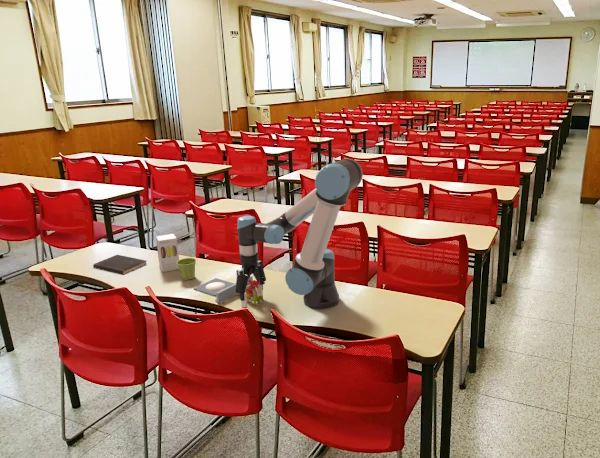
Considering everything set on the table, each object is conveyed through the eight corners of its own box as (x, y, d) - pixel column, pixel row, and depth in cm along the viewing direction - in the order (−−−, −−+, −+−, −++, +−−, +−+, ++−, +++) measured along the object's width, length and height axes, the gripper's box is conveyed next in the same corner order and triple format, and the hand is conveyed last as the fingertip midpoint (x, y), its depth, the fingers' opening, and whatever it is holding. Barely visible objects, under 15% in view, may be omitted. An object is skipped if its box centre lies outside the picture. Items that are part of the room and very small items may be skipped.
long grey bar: (255, 285, 226) (254, 276, 225) (221, 303, 210) (220, 294, 208) (249, 284, 229) (248, 275, 227) (214, 301, 212) (213, 292, 211)
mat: (236, 285, 228) (236, 284, 228) (214, 296, 217) (214, 294, 217) (215, 279, 236) (215, 277, 236) (193, 289, 226) (193, 288, 225)
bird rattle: (244, 309, 209) (258, 305, 203) (234, 285, 208) (248, 280, 203) (253, 303, 214) (268, 299, 208) (244, 280, 213) (258, 275, 208)
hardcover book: (117, 258, 272) (117, 254, 271) (147, 264, 261) (146, 260, 260) (93, 268, 259) (92, 264, 258) (123, 275, 247) (122, 271, 247)
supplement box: (161, 272, 247) (157, 241, 242) (159, 266, 256) (154, 236, 251) (180, 268, 251) (177, 237, 246) (177, 263, 259) (173, 233, 254)
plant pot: (175, 281, 236) (172, 264, 233) (184, 273, 245) (182, 257, 242) (192, 282, 234) (190, 265, 231) (201, 274, 242) (199, 258, 240)
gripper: (259, 244, 213) (262, 291, 220) (223, 259, 197) (228, 310, 203) (272, 246, 209) (275, 294, 215) (236, 263, 192) (241, 314, 199)
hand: (252, 302), depth 209 cm, fingers open, 9 cm apart
